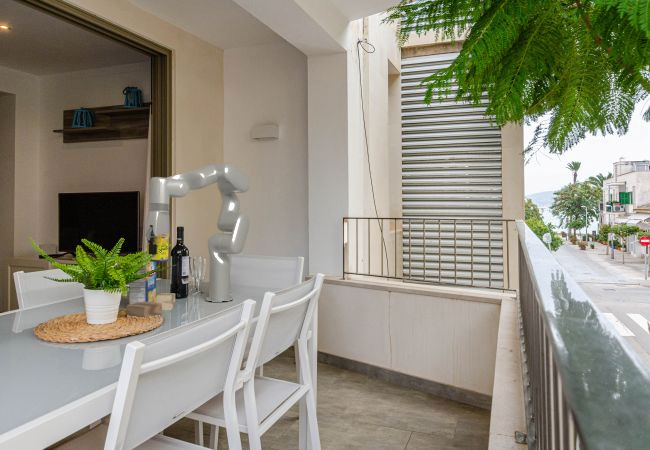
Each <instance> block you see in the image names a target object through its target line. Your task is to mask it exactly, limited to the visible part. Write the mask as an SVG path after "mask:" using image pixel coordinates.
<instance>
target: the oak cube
mask: <svg viewBox="0 0 650 450" xmlns="http://www.w3.org/2000/svg"><path fill="white" fill-rule="evenodd" d="M156 303H162V311H171V310H173V309H174V308H175V307H176V293H167V292H166V293H164V292H163V293H159V294H156Z"/></svg>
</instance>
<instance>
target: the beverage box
mask: <svg viewBox="0 0 650 450" xmlns="http://www.w3.org/2000/svg"><path fill="white" fill-rule="evenodd" d="M154 269H156V270H157V262H150V263H149V264H147V265H145V266H144V267H143V268H141V269H140V270H139V271H138V272H137V274H143V273H146V272H149V271H152V270H154ZM128 291H129V294H128V295H129V299H128V305H130V304H135V303H139V302H144V301H145V302H154V303H156V296H157V271H156V272H154V273H152V274H150V275H149V276H148V277H146V278H143V279H139V280H136V281H134V282H131V283H130V282H129V290H128Z"/></svg>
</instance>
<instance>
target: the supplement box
mask: <svg viewBox="0 0 650 450" xmlns="http://www.w3.org/2000/svg"><path fill="white" fill-rule="evenodd" d="M152 236H155V235H152ZM169 238H170V237H169V234H159V236H158V237H157V241H156V244H157V253H158V254H156V255H153V257H152V258H151V259H152V260H151V261H150V262H156V263H162V262H168V261H169V244H170V243H169V242H170V240H169ZM153 240H154V238H153ZM166 246H168V247H167V248H166ZM162 248H163V249H165V248H166V249H165V250H162ZM159 249H161V250H162V252H161V251H160V250H159ZM159 251H160V252H161V253H160V252H159ZM146 253H147V254H146V255H150V254H149V244H148V243H147V247H146Z"/></svg>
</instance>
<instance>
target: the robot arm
mask: <svg viewBox="0 0 650 450" xmlns="http://www.w3.org/2000/svg"><path fill="white" fill-rule="evenodd" d="M216 183H217V184H216ZM213 184H216V185H217V189H218V191H219V193H220V195H221V196H220V197H221V200H222V203H221V206H220V207H221V208H220V211H219V214H218V217H217V222H216V228H217V229H218V230H219V231H221V232H222V233H221V232H218V233H217V232H216V233H213V234H212V235H210V236H209V237H208V240H207V250H208V256H209V276H208V277H209V284H208V285H209V286H208V289H209V290H208V291H209V292H208V294H209V295H208V296H206V297H205V301H206V300H207V301H206V302H208V301H212V302H211V303H223V302H222V301H228V302H231V301H230V300H232V299H233V300H234V296H231V294H233V290H232V289H231V260H230V257H229V255H238V254H241V252H243V250H244V247H245V244H246V242H247V241H246V240H247V236H248V232H249V230H250V220H249V219H250V218H249V216H248V214H246V213H245V212H240V206H241V203H240V200H239V198H238V196H237V194H243V193H247V192H248V191H249V190H250V188H251V182H250V179H249V177H248V176H247V175H246V174H245V173H244V172H242V171H241V170H240V169H238V167H237V166H235V165H233V164H232V163H229V162H220V163H219V162H217V163H212V164H208V165H205V166H202V167H199V168H196V169H194V170H190V171H186V172H183V173H179V174H174V175H170V176H168V177H161V176H154V177H151V178H150V180H149V195H148V198H149V199H148V212H147V216H146V221H145V222H146V223H145V238H146V240H147V245H148V244H149V254H152V255H156V254H157V244H156V241H157V237H158V236H159V234H169V238H170V237H171V231H170V229H171V228H170V227H171V226H170V222H171V221H170V214H169V213H170V198H184V197H186V196H187V195H188V194H189V192H190V191H195V190H200V189H203V188H207V187H208V186H211V185H213ZM152 235H155V236H152ZM153 238H154V240H153ZM233 300H232V301H233Z"/></svg>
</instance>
